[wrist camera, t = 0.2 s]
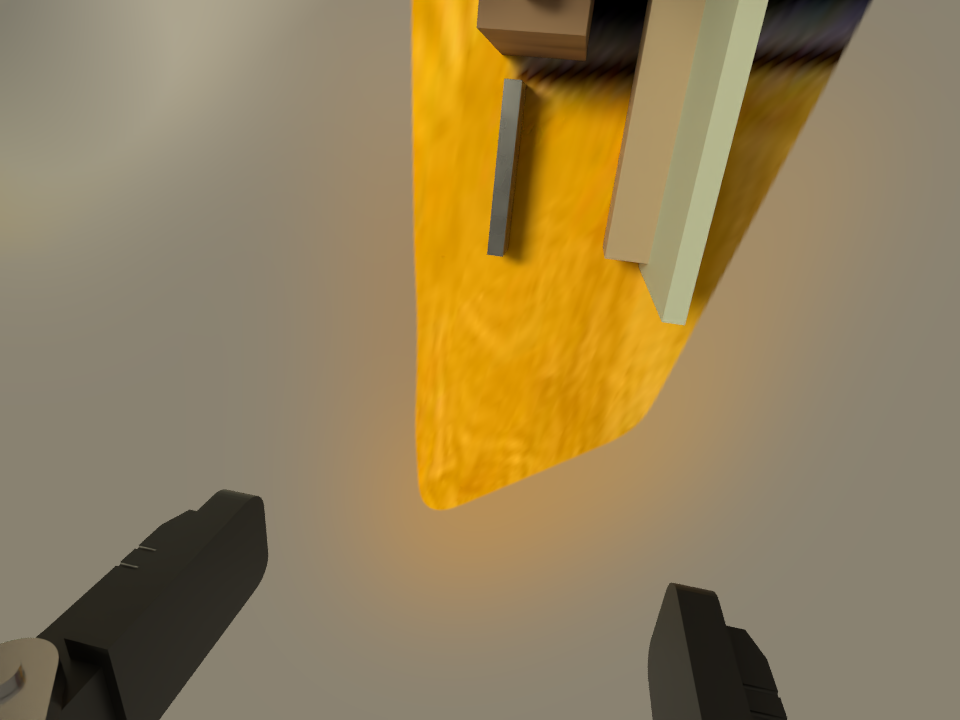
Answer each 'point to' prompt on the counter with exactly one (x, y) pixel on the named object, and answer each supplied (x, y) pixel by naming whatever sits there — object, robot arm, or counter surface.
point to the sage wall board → (679, 140)
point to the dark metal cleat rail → (506, 165)
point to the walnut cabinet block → (537, 27)
